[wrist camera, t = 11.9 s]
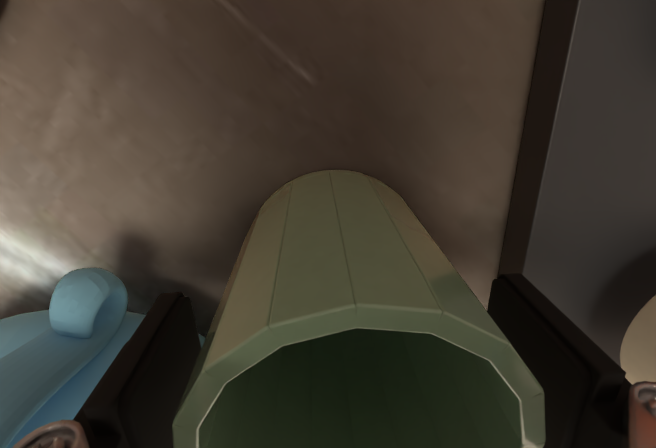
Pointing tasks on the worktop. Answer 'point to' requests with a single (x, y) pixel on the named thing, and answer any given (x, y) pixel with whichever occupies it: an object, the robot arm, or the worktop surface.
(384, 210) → the green cup
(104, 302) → the teapot
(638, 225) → the orange button base plate
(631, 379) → the paper towel roll
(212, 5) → the worktop surface
